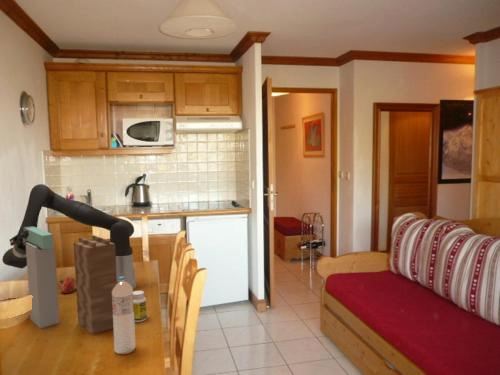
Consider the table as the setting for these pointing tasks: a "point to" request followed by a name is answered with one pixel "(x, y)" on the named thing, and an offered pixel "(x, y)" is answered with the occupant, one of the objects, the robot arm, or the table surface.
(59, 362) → the table surface
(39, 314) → the grey stand
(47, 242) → the teal bar
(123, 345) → the water bottle
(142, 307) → the pill bottle
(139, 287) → the table surface
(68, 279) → the pomegranate
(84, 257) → the walnut stand
